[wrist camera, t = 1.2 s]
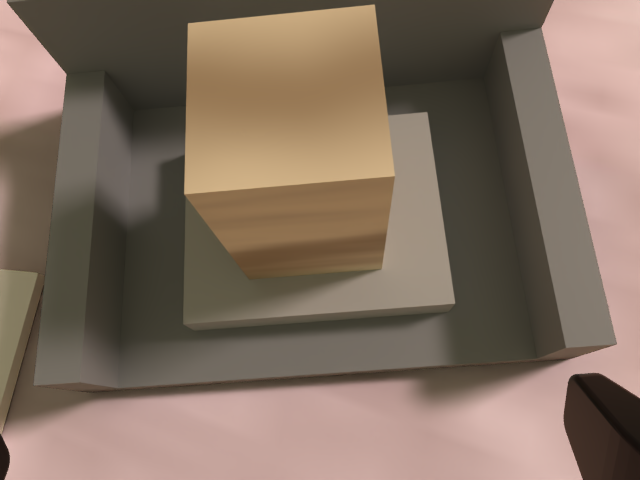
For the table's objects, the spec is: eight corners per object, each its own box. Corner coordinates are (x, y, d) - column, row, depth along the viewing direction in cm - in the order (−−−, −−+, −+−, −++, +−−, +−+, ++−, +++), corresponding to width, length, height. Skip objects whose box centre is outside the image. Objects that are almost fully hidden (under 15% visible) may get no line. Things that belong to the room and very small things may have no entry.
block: (381, 268, 20) (394, 175, 13) (249, 279, 20) (184, 194, 13) (369, 149, 22) (374, 4, 14) (246, 160, 22) (188, 23, 15)
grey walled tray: (571, 358, 21) (688, 321, 14) (89, 392, 22) (-53, 375, 14) (507, 58, 26) (569, -94, 18) (111, 96, 27) (12, -35, 19)
